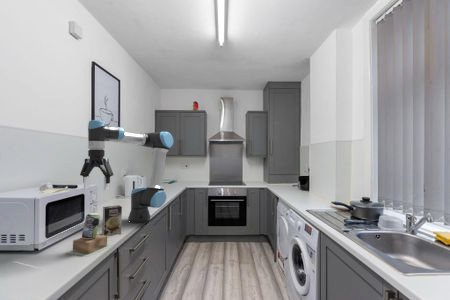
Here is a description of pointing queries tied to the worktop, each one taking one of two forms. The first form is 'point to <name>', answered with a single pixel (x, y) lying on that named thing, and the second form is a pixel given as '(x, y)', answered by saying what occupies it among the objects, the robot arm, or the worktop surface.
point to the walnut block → (89, 244)
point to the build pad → (88, 254)
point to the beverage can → (91, 225)
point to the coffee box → (111, 220)
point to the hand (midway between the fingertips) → (96, 189)
